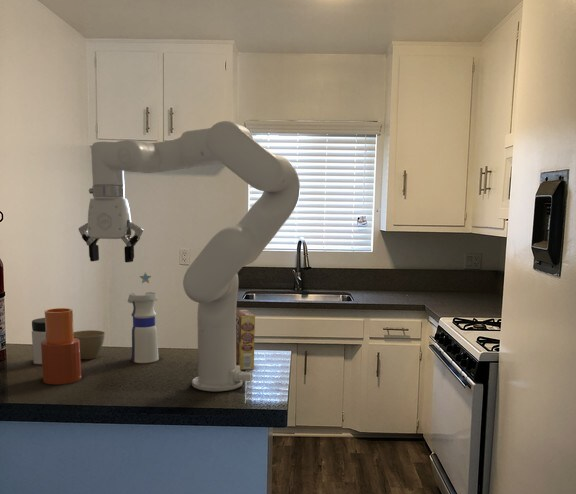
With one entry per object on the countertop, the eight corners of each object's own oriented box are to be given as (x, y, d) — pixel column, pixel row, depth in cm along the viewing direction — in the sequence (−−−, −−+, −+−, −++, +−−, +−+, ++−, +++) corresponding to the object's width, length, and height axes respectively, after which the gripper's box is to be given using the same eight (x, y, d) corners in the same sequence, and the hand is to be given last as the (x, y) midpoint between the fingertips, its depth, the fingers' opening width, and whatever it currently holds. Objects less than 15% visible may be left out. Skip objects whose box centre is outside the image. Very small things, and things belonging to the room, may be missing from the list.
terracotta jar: (88, 375, 164) (86, 338, 162) (68, 385, 155) (66, 346, 154) (57, 373, 166) (55, 336, 165) (35, 382, 157) (33, 344, 156)
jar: (58, 356, 184) (56, 316, 182) (70, 361, 179) (68, 320, 177) (28, 361, 178) (25, 319, 176) (39, 366, 173) (36, 324, 171)
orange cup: (78, 339, 162) (77, 308, 160) (64, 344, 155) (62, 313, 154) (56, 337, 163) (54, 307, 162) (41, 343, 157) (39, 311, 156)
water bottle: (126, 358, 183) (123, 273, 179) (154, 354, 187) (152, 271, 183) (133, 364, 176) (130, 276, 172) (163, 361, 180) (160, 274, 176)
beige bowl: (95, 362, 177) (94, 337, 176) (63, 360, 179) (61, 336, 178) (111, 354, 187) (110, 330, 186) (81, 352, 189) (80, 329, 188)
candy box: (255, 369, 172) (255, 314, 169) (240, 370, 170) (239, 315, 168) (248, 361, 180) (248, 309, 178) (233, 362, 179) (233, 309, 176)
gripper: (69, 192, 154) (73, 261, 157) (133, 192, 150) (136, 263, 153) (86, 193, 162) (89, 259, 164) (147, 193, 158) (149, 261, 160)
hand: (111, 261), depth 159 cm, fingers open, 9 cm apart
